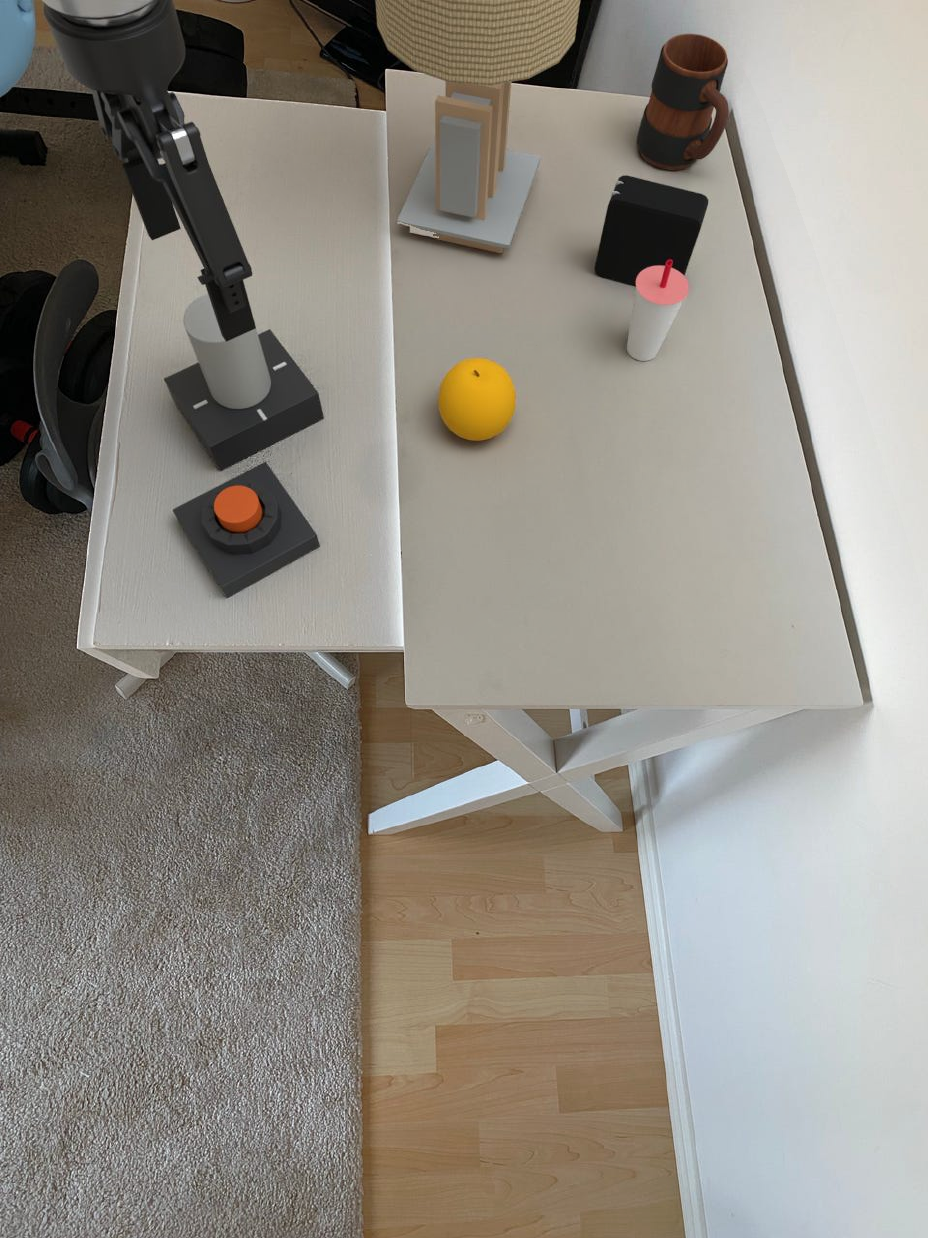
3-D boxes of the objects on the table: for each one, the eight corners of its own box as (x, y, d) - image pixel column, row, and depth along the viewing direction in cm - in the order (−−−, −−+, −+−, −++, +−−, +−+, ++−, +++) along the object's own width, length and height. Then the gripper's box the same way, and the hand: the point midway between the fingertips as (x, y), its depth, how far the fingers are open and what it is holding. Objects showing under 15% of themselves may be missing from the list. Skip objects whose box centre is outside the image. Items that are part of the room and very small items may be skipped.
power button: (231, 540, 72) (226, 530, 70) (211, 508, 73) (205, 498, 71) (270, 519, 73) (266, 509, 71) (249, 488, 74) (245, 478, 72)
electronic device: (676, 297, 90) (703, 221, 81) (592, 275, 91) (609, 197, 82) (684, 272, 92) (711, 195, 83) (601, 250, 93) (619, 172, 84)
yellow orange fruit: (504, 460, 80) (510, 412, 74) (429, 443, 81) (428, 394, 74) (520, 399, 84) (527, 348, 77) (448, 384, 84) (449, 332, 77)
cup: (634, 374, 85) (662, 286, 74) (608, 340, 87) (632, 249, 76) (675, 357, 87) (709, 268, 76) (649, 324, 88) (678, 232, 77)
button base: (227, 598, 73) (215, 578, 70) (178, 521, 76) (165, 498, 73) (320, 546, 76) (314, 524, 72) (270, 474, 79) (261, 449, 75)
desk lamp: (416, 138, 100) (404, -255, 68) (566, 169, 99) (626, -219, 66) (368, 243, 93) (328, -145, 60) (529, 279, 91) (577, -101, 59)
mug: (674, 197, 97) (703, 102, 86) (622, 139, 101) (643, 41, 91) (731, 176, 99) (766, 80, 88) (677, 120, 103) (704, 22, 92)
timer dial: (227, 418, 77) (200, 349, 68) (199, 378, 79) (170, 306, 70) (281, 392, 78) (262, 321, 70) (253, 353, 80) (231, 279, 72)
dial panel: (220, 472, 79) (209, 446, 75) (175, 404, 82) (162, 376, 78) (324, 419, 82) (318, 392, 78) (276, 355, 85) (269, 326, 81)
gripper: (-34, -89, 50) (96, 209, 69) (136, 129, 42) (230, 398, 61) (79, -120, 52) (175, 178, 71) (262, 83, 44) (314, 358, 63)
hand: (200, 280), depth 66 cm, fingers open, 13 cm apart
